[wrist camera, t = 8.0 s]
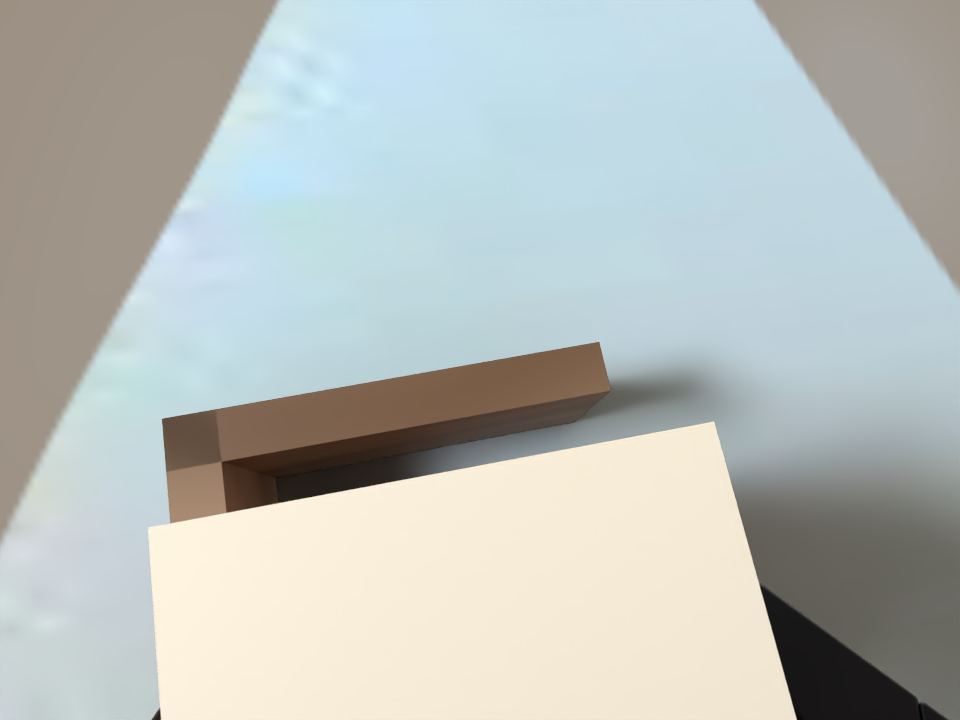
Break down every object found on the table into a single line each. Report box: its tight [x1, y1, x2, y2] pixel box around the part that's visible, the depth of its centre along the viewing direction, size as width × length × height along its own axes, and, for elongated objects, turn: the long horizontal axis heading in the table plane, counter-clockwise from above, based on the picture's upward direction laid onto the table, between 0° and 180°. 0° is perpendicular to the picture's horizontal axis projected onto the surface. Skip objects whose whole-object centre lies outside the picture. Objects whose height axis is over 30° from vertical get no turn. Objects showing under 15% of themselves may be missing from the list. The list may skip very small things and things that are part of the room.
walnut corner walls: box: [162, 342, 611, 523], centre depth 14 cm, size 12×8×4 cm
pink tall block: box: [148, 422, 797, 720], centre depth 10 cm, size 5×5×10 cm
